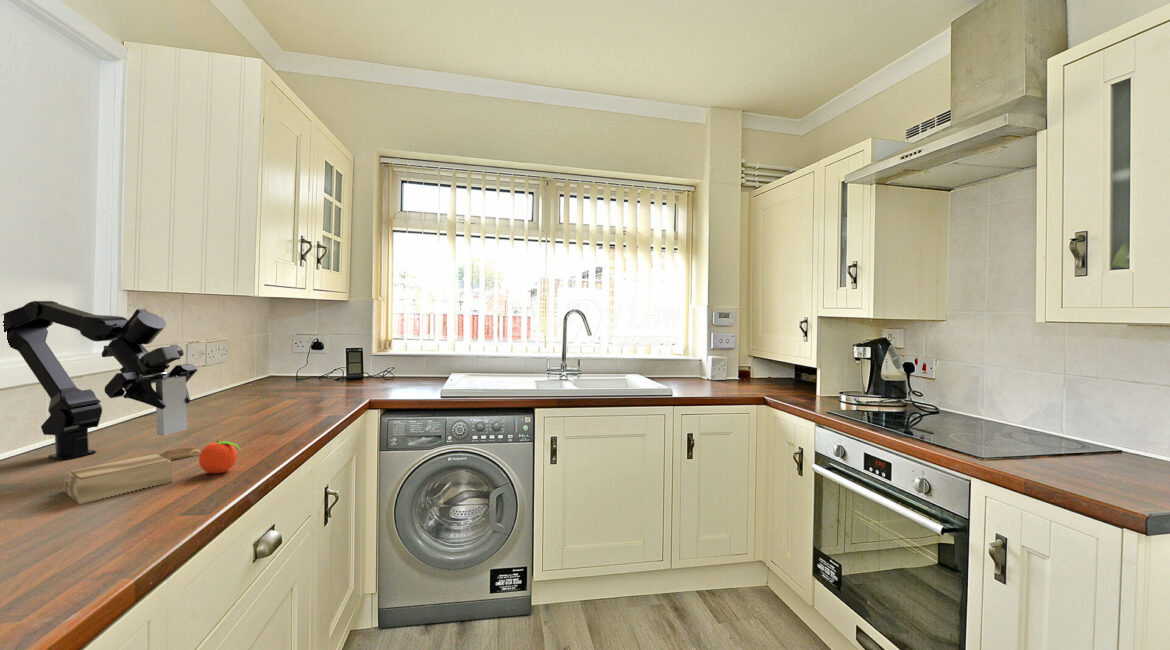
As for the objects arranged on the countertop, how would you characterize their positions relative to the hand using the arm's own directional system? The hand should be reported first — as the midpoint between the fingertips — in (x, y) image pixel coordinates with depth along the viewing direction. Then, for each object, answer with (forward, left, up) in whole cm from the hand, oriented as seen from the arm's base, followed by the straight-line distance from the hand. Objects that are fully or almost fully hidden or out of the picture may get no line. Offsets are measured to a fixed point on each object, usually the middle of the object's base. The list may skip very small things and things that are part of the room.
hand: (176, 405), depth 120 cm
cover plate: (-1, 0, -7) cm, 7 cm away
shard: (-2, +1, -14) cm, 14 cm away
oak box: (+7, -16, -13) cm, 22 cm away
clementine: (+19, -3, -14) cm, 23 cm away
